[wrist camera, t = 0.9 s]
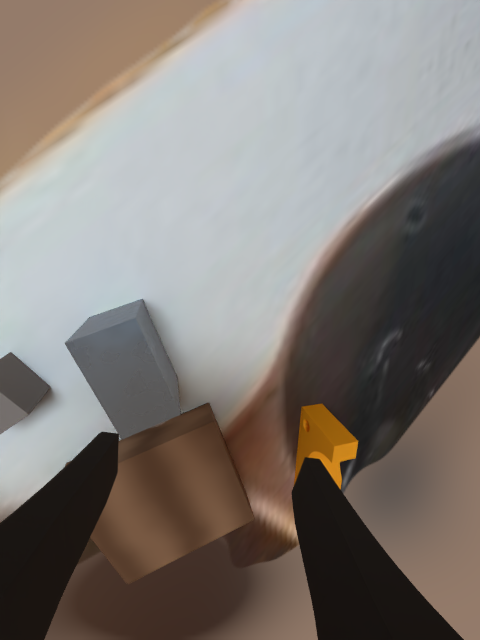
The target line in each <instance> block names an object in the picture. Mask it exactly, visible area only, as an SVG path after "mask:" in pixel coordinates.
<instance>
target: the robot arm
mask: <svg viewBox="0 0 480 640" xmlns="http://www.w3.org/2000/svg"><path fill="white" fill-rule="evenodd" d="M118 443H119V434H116V433H108V432H101V433H99V434H98V435H97V436H96V437H95V438H94V439H93V440H92V441H91V442H90V443H89V444H88V445H87V446H86V447H85V448H84V449H83V450H82V451H81V452H80V453H79V454H78V455H77V456H76V457H75V458H74V459H73V460H72V461H71V462H70V463H69V464H68V465H67V466H66V467H64V468H63V469H62V470H61V471H60V472H59V473H58V474H57V475H56V476H55V477H54V478H52V479H51V480H50V481H49V482H48V483H47V484H46V485H45V486H44V487H43V488H41V489H40V490H39V491H38V492H37V493H36V494H34V495H33V496H32V497H31V498H30V499H29V500H27V501H26V502H25V503H24V504H23V505H21V506H20V507H19V508H18V509H17V510H16V511H14V512H13V513H12V514H11V515H10V516H8V517H7V518H6V519H5V520H3V521H2V522H1V523H0V640H44V639H45V636H46V634H47V631H48V629H49V626H50V624H51V621H52V619H53V616H54V614H55V612H56V609H57V606H58V604H59V601H60V599H61V597H62V595H63V592H64V590H65V588H66V586H67V583H68V581H69V579H70V577H71V575H72V573H73V571H74V569H75V567H76V565H77V563H78V561H79V559H80V557H81V555H82V553H83V551H84V549H85V546H86V544H87V542H88V540H89V538H90V536H91V534H92V532H93V530H94V528H95V526H96V524H97V522H98V520H99V518H100V516H101V513H102V511H103V509H104V507H105V505H106V503H107V500H108V498H109V495H110V492H111V490H112V487H113V484H114V482H115V479H116V476H117V473H118ZM292 501H293V511H294V519H295V525H296V530H297V535H298V540H299V544H300V549H301V553H302V558H303V563H304V567H305V572H306V576H307V581H308V586H309V590H310V595H311V599H312V605H313V610H314V616H315V621H316V629H317V636H318V640H464V639H463V638H462V637H461V636H460V635H459V634H458V633H457V632H456V631H455V630H454V629H453V628H452V627H451V626H450V625H449V624H448V623H447V622H446V620H445V619H444V618H443V617H442V616H441V615H440V614H439V613H438V612H437V611H436V610H435V609H434V608H433V607H432V605H431V604H430V603H429V602H428V601H427V600H426V599H425V598H424V597H423V596H422V594H421V593H420V592H419V591H418V590H417V589H416V588H415V586H414V585H413V584H412V583H411V582H410V581H409V579H408V578H407V577H406V576H405V575H404V574H403V572H402V571H401V570H400V569H399V568H398V567H397V565H396V564H395V563H394V562H393V560H392V559H391V558H390V557H389V556H388V554H387V553H386V552H385V550H384V549H383V548H382V547H381V545H380V544H379V543H378V541H377V540H376V539H375V537H374V536H373V535H372V534H371V532H370V531H369V529H368V528H367V527H366V525H365V524H364V523H363V521H362V520H361V518H360V517H359V516H358V515H357V513H356V511H355V510H354V509H353V507H352V506H351V504H350V503H349V502H348V500H347V499H346V497H345V496H344V494H343V493H342V491H341V490H340V488H339V487H338V485H337V484H336V482H335V481H334V479H333V478H332V476H331V475H330V473H329V472H328V470H327V469H326V467H325V466H324V464H323V463H322V462H321V460H320V459H316V458H308V457H305V458H304V461H303V464H302V466H301V469H300V471H299V474H298V477H297V479H296V482H295V485H294V487H293V490H292Z"/></svg>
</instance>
